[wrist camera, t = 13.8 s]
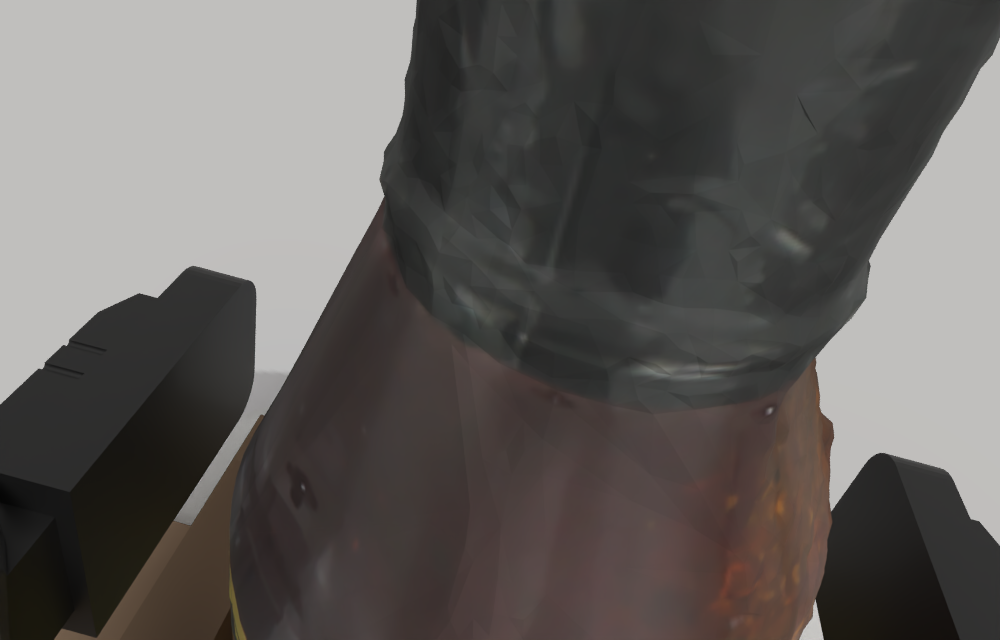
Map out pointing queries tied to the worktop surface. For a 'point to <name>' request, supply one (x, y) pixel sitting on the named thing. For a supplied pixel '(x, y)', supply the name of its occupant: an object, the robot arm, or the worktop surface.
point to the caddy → (182, 578)
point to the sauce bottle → (596, 323)
